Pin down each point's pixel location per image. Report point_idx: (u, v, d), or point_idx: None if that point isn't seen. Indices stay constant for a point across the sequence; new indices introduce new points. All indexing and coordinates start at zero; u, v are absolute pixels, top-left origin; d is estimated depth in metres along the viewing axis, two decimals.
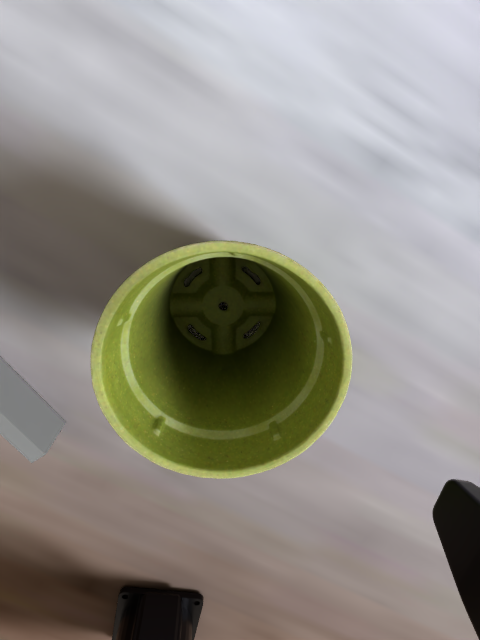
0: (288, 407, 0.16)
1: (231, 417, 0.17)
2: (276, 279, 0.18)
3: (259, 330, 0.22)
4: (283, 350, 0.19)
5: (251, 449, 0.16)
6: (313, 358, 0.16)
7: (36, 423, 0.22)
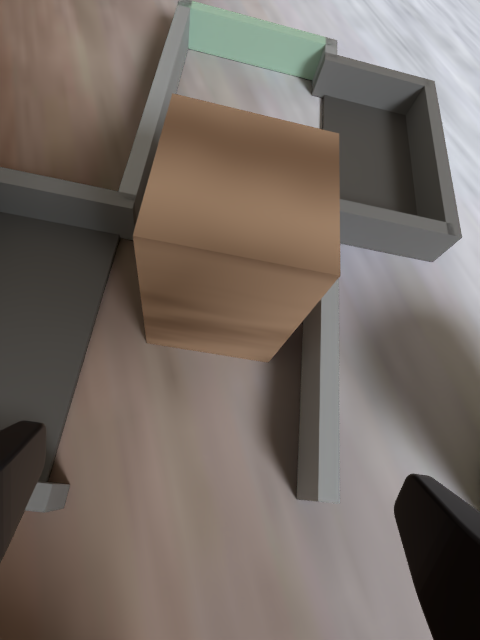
0: None
1: None
2: None
3: None
4: None
5: None
6: None
7: None
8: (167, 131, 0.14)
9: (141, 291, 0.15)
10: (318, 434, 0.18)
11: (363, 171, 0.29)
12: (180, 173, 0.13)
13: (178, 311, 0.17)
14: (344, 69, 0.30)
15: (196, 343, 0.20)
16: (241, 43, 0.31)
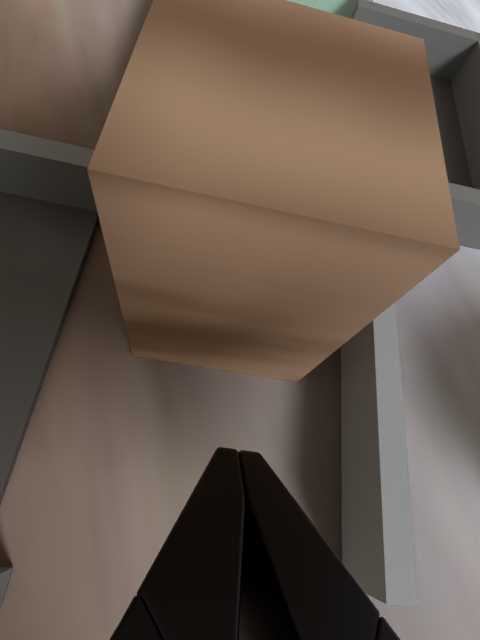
0: None
1: None
2: None
3: None
4: None
5: None
6: None
7: None
8: (157, 15, 0.09)
9: (116, 280, 0.10)
10: (380, 494, 0.12)
11: None
12: (176, 75, 0.08)
13: (174, 312, 0.11)
14: (381, 19, 0.25)
15: (199, 357, 0.15)
16: None
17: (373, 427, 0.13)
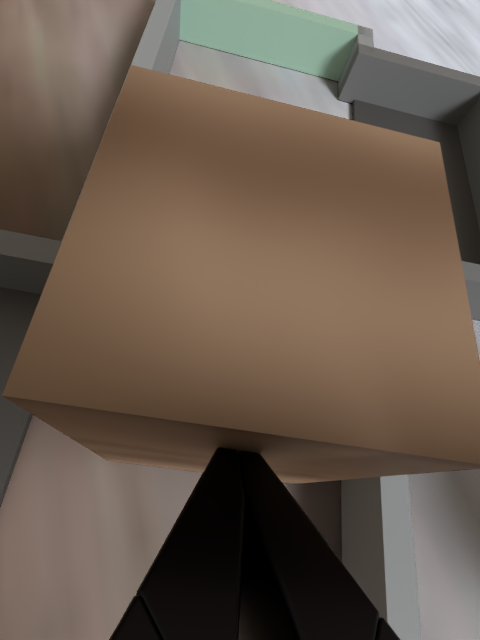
0: None
1: None
2: None
3: None
4: None
5: None
6: None
7: None
8: (115, 136, 0.07)
9: (72, 437, 0.08)
10: None
11: None
12: (135, 227, 0.06)
13: (146, 452, 0.10)
14: (383, 66, 0.23)
15: (182, 467, 0.13)
16: (248, 32, 0.24)
17: (379, 584, 0.11)
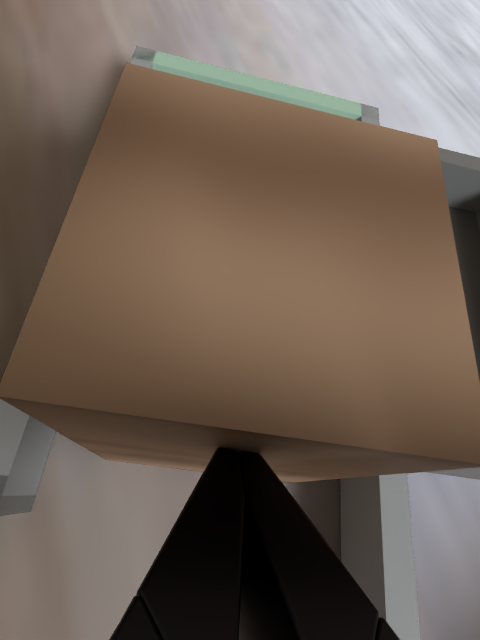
0: None
1: None
2: None
3: None
4: None
5: None
6: None
7: None
8: (110, 135, 0.07)
9: (68, 436, 0.08)
10: None
11: None
12: (130, 226, 0.06)
13: (144, 452, 0.09)
14: None
15: (180, 466, 0.13)
16: None
17: None
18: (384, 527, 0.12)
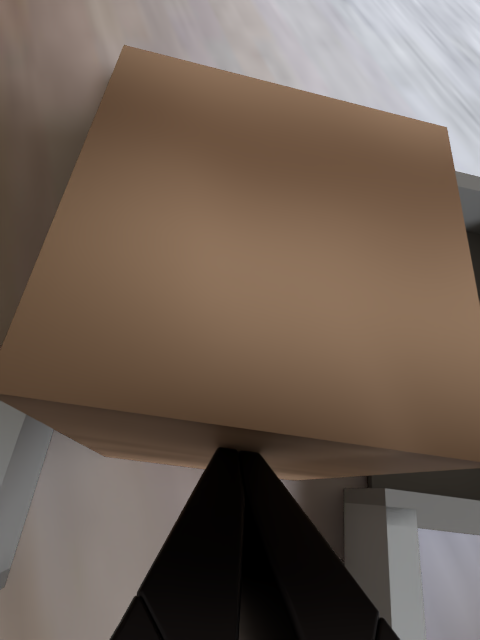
0: None
1: None
2: None
3: None
4: None
5: None
6: None
7: None
8: (107, 119, 0.07)
9: (64, 434, 0.08)
10: None
11: None
12: (126, 214, 0.06)
13: (143, 449, 0.09)
14: None
15: (180, 464, 0.13)
16: None
17: None
18: (393, 613, 0.10)
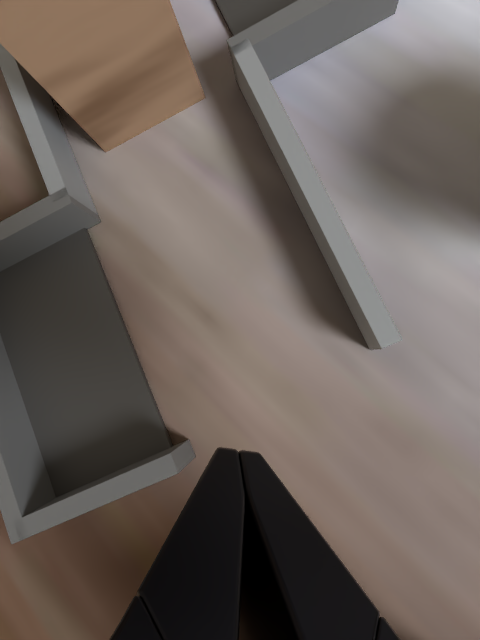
0: None
1: None
2: None
3: None
4: None
5: None
6: None
7: None
8: None
9: (38, 80, 0.17)
10: (353, 292, 0.17)
11: None
12: None
13: (83, 84, 0.18)
14: None
15: (135, 120, 0.22)
16: None
17: (332, 253, 0.18)
18: (253, 89, 0.19)
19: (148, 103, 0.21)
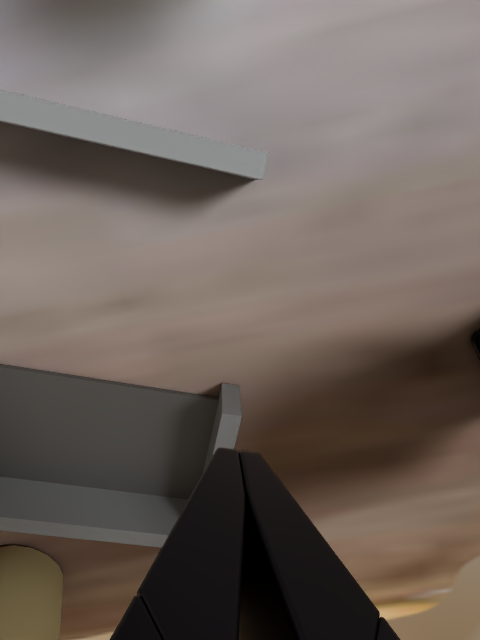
0: None
1: None
2: None
3: None
4: None
5: None
6: None
7: None
8: None
9: None
10: (191, 163, 0.15)
11: None
12: None
13: None
14: None
15: None
16: None
17: (137, 151, 0.15)
18: None
19: None
